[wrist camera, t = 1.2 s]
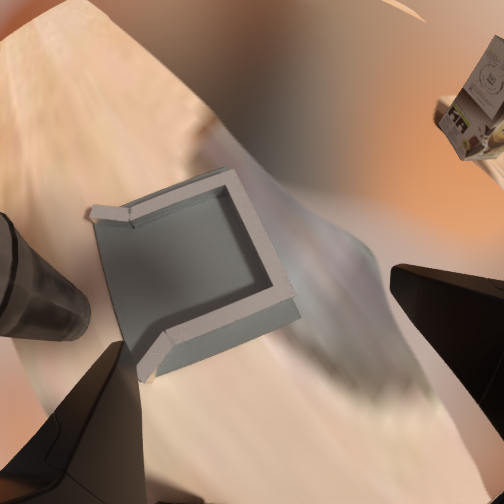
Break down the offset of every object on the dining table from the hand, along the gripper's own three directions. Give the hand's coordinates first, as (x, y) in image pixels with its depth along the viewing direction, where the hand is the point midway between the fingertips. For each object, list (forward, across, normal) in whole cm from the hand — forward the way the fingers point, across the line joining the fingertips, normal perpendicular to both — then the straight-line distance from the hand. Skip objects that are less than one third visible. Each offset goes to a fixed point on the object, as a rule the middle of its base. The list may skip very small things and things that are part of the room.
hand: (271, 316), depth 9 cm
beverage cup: (+14, +14, +6) cm, 21 cm away
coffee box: (+19, -35, -2) cm, 40 cm away
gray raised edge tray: (+15, +3, +4) cm, 16 cm away
